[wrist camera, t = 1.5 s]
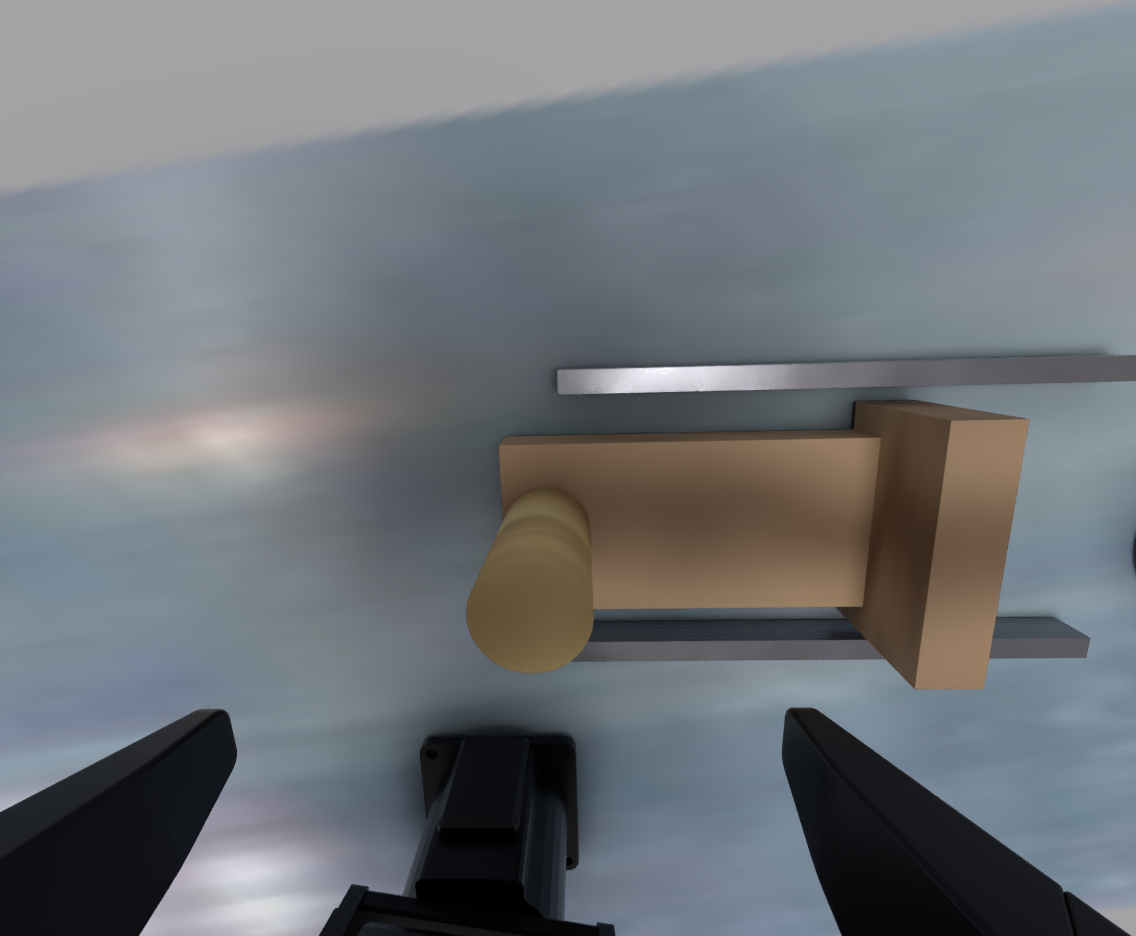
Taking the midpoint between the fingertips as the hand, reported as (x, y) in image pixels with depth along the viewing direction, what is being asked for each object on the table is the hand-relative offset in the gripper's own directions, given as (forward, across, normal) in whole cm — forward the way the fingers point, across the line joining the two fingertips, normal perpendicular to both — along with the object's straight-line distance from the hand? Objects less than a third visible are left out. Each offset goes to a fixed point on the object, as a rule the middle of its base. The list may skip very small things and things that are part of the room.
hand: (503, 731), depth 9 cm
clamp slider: (+12, -6, +1) cm, 13 cm away
